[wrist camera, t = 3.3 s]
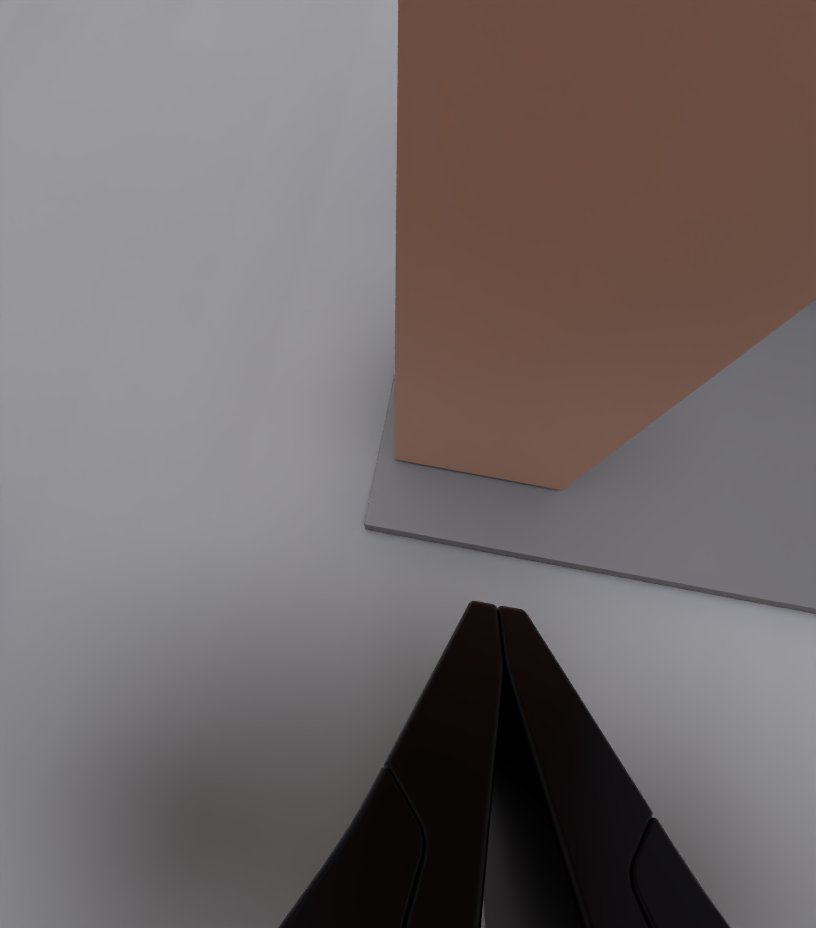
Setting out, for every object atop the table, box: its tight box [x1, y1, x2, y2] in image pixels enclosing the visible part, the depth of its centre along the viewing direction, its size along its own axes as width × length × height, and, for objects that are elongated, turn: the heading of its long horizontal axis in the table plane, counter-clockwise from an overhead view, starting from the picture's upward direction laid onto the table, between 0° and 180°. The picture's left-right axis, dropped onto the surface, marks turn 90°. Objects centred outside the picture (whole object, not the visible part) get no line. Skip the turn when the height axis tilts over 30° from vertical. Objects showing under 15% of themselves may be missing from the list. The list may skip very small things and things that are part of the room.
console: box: [364, 299, 816, 613], centre depth 17 cm, size 16×22×7 cm
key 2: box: [394, 0, 816, 490], centre depth 11 cm, size 4×5×14 cm
